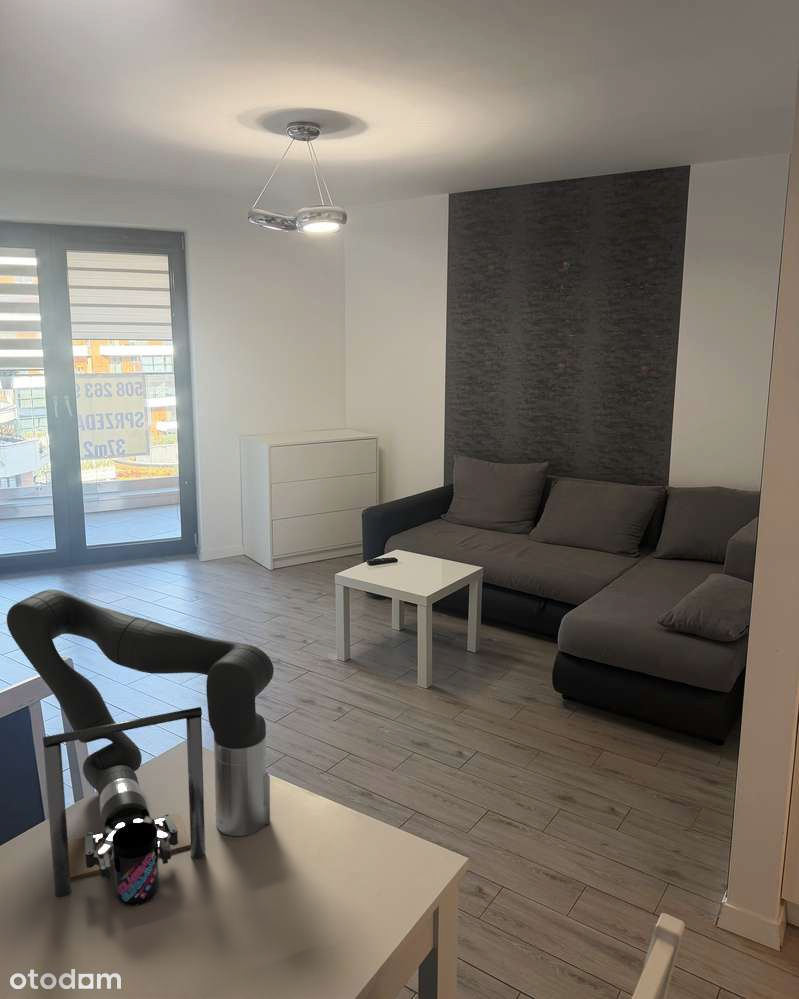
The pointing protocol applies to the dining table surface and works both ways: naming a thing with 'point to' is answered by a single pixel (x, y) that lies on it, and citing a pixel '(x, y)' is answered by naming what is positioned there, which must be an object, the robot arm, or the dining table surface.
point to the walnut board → (79, 859)
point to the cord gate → (54, 741)
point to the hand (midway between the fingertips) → (137, 866)
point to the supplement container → (136, 863)
